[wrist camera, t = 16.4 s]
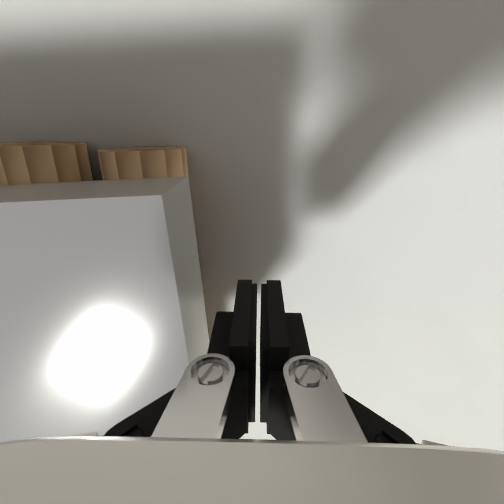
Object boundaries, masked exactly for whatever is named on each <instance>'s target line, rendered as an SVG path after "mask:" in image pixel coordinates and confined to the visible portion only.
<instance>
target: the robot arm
mask: <svg viewBox="0 0 504 504" xmlns="http://www.w3.org/2000/svg"><path fill="white" fill-rule="evenodd" d="M256 319H257V284H252V280H238V284H237V291H236V298H235V305H234V312H217V313H216V317H215V321H214V326H213V330H212V334H211V339H210V343H209V347H208V352H207V354H205V355H201V356H199V357H197V358H195V359H194V360H192V361H191V362H190V363H189V365H188V366H187V368H186V369H185V371H184V373H183V375H182V377H181V379H180V381H179V383H178V385H177V387H176V388H174V389H173V390H171V391H169V392H168V393H166V394H165V395H163V396H161V397H160V398H158V399H156V400H155V401H153V402H151V403H150V404H148V405H147V406H145V407H143V408H142V409H140V410H138V411H137V412H135V413H134V414H132V415H130V416H129V417H127V418H125V419H124V420H122V421H120V422H119V423H117V424H116V425H114V426H113V427H112V428H110V429H109V430H108V431H107V432H106V433H105V434H104V435H100V436H98V433H97V431H96V432H91V433H85V434H80V435H74V436H64V437H36V438H26V439H17V440H10V441H5V442H0V504H504V452H503V451H497V450H491V449H481V448H467V447H455V446H448V445H443V444H439V443H435V442H430V441H426V440H422V444H418V443H415V442H414V440H413V439H412V438H411V437H410V436H408V435H407V434H406V433H405V432H403V431H402V430H400V429H399V428H397V427H396V426H394V425H393V424H391V423H390V422H388V421H387V420H385V419H384V418H382V417H381V416H379V415H377V414H376V413H374V412H373V411H371V410H370V409H368V408H367V407H365V406H364V405H362V404H361V403H359V402H358V401H356V400H355V399H353V398H352V397H350V396H348V395H347V394H345V393H344V392H342V390H341V388H340V386H339V384H338V382H337V380H336V378H335V376H334V374H333V372H332V370H331V368H330V367H329V366H328V364H326V363H325V362H324V361H322V360H320V359H318V358H316V357H313V356H311V355H310V350H309V346H308V341H307V337H306V332H305V328H304V323H303V319H302V315H301V313H285V310H284V302H283V295H282V288H281V281H280V280H267V284H261V325H260V422H267V434H271V435H272V436H273V437H274V438H275V439H276V440H258V439H239V438H240V437H242V436H243V435H244V434H245V433H248V422H255V385H256Z"/></svg>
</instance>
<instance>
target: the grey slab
mask: <svg viewBox="0 0 504 504" xmlns="http://www.w3.org/2000/svg"><path fill="white" fill-rule="evenodd" d="M209 343H210V342H209V334H208V327H207V319H206V311H205V303H204V295H203V287H202V279H201V272H200V264H199V256H198V248H197V240H196V232H195V224H194V216H193V209H192V201H191V193H190V185H189V177H188V176H180V177H159V178H139V179H119V180H98V181H78V182H58V183H38V184H17V185H0V442H5V441H10V440H17V439H26V438H36V437H64V436H74V435H80V434H85V433H91V432H96V431H97V433H98V436H100V435H104V434H105V433H106V432H107V431H108V430H109V429H110V428H112V427H113V426H114V425H116V424H117V423H119V422H120V421H122V420H124V419H125V418H127V417H129V416H130V415H132V414H134V413H135V412H137V411H138V410H140V409H142V408H143V407H145V406H147V405H148V404H150V403H151V402H153V401H155V400H156V399H158V398H160V397H161V396H163V395H165V394H166V393H168V392H169V391H171V390H173V389H174V388H176V387H177V385H178V383H179V381H180V379H181V377H182V375H183V373H184V371H185V369H186V368H187V366H188V365H189V363H190V362H191V361H192V360H194V359H195V358H197V357H199V356H201V355H205V354H207V352H208V347H209Z"/></svg>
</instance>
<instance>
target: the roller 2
mask: <svg viewBox="0 0 504 504" xmlns="http://www.w3.org/2000/svg"><path fill="white" fill-rule="evenodd" d="M97 153H98V158H99V163H100V168H101V173H102V179H103V180H119V179H139V178H159V177H180V176H188V177H189V173H188V162H187V152H186V147H181V146H141V147H121V148H108V149H101V150H97ZM189 185H190V184H189Z"/></svg>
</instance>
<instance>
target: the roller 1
mask: <svg viewBox="0 0 504 504" xmlns="http://www.w3.org/2000/svg"><path fill="white" fill-rule="evenodd" d="M78 181H93V179H92V173H91V168H90V162H89V157H88V151H87V145H86V143H83V142H7V143H0V185H17V184H38V183H58V182H78Z"/></svg>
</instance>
